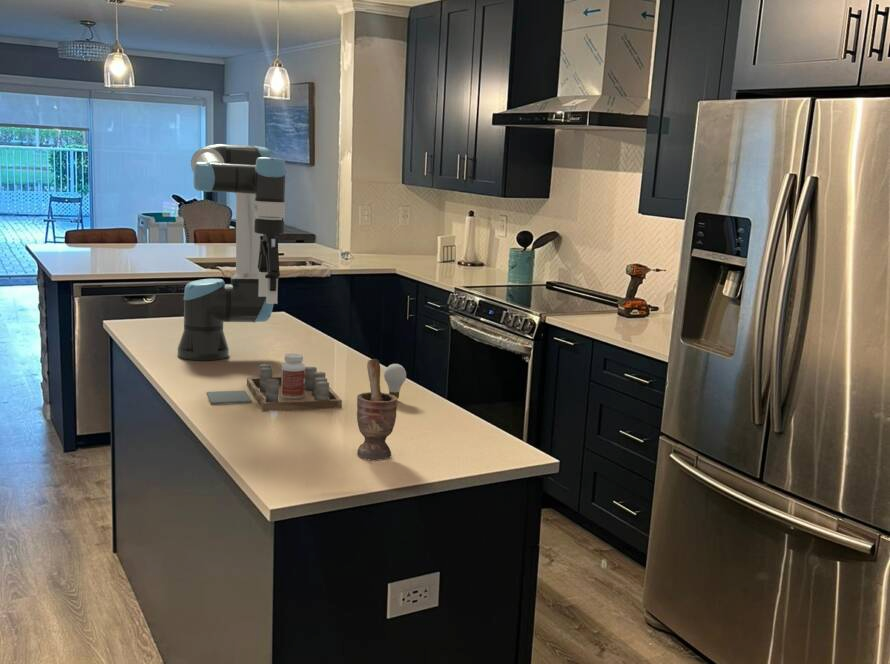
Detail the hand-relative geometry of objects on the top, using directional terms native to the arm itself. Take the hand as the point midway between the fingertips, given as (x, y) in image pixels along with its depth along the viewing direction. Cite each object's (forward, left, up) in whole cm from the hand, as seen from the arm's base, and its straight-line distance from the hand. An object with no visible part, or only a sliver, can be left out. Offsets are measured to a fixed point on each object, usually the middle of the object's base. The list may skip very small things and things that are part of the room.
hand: (267, 300), depth 229 cm
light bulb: (+14, +32, -25) cm, 43 cm away
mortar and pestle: (+53, +14, -25) cm, 60 cm away
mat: (+6, -10, -25) cm, 27 cm away
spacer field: (+6, +6, -25) cm, 26 cm away
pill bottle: (+6, +6, -25) cm, 26 cm away
